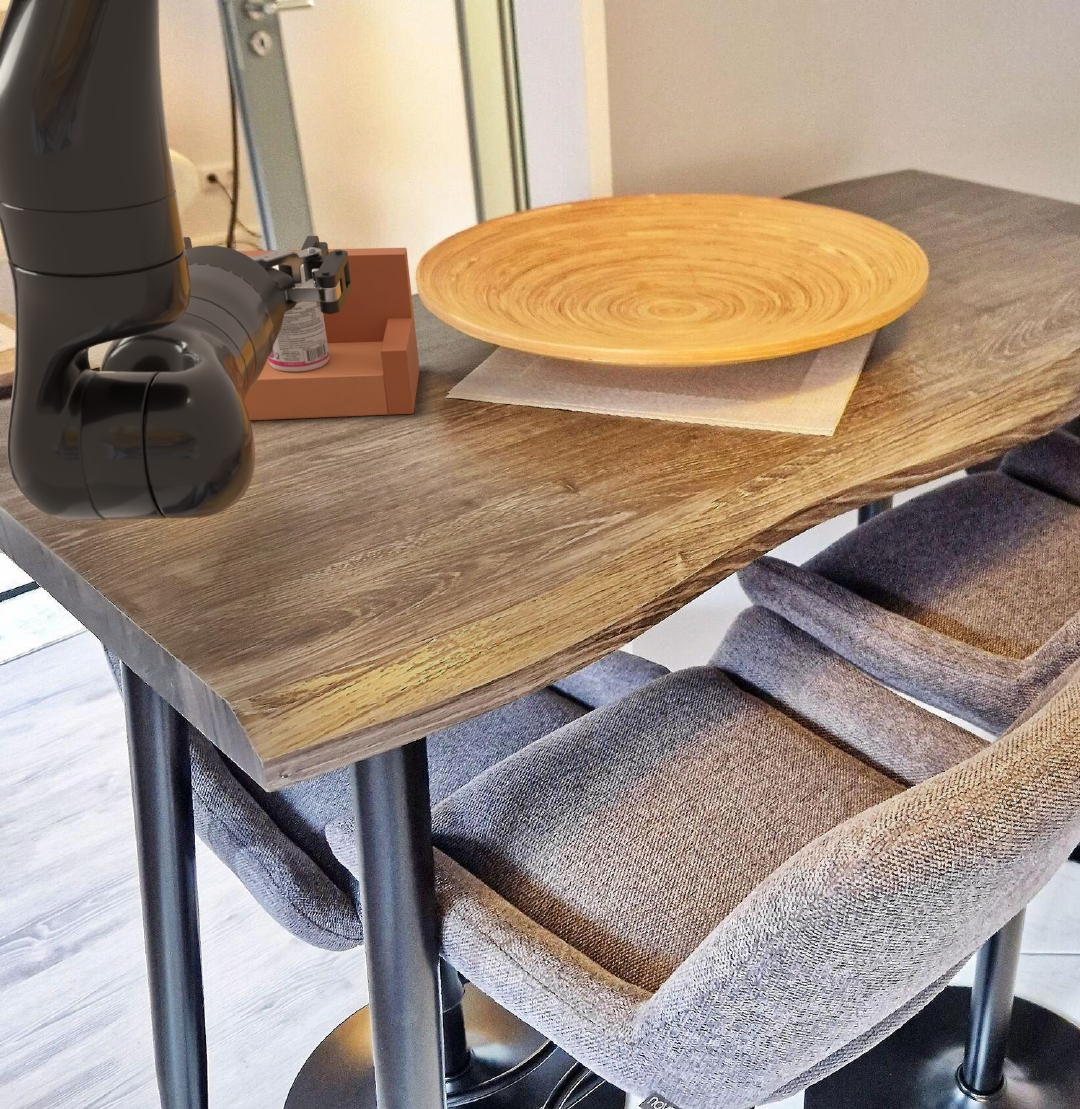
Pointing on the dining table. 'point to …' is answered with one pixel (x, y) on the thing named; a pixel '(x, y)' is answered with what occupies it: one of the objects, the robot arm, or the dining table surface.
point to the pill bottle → (301, 338)
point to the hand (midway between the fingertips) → (251, 250)
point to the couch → (353, 350)
